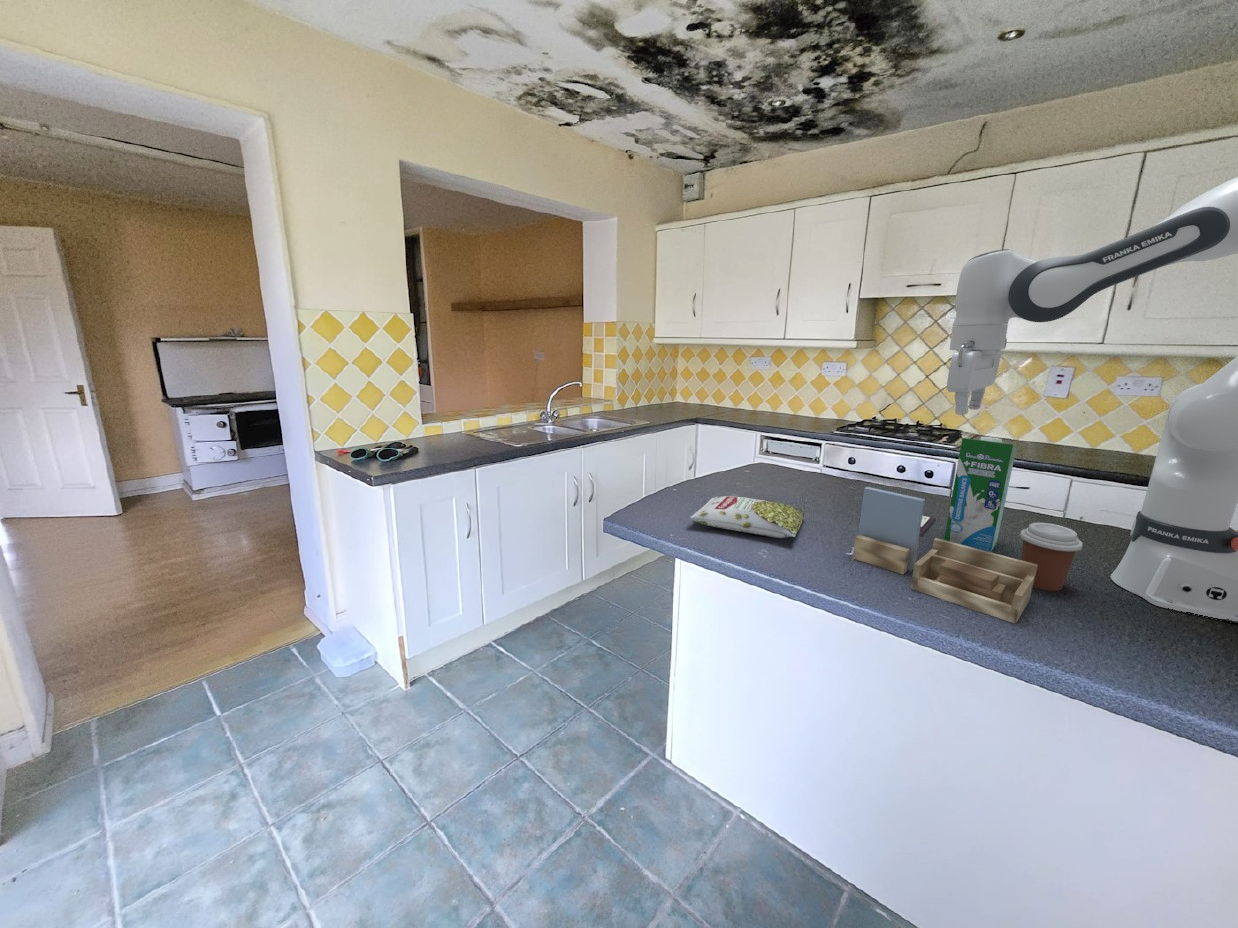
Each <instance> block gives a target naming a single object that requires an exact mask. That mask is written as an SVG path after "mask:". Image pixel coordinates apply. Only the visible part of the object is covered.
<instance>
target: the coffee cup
mask: <svg viewBox="0 0 1238 928" xmlns="http://www.w3.org/2000/svg"><path fill="white" fill-rule="evenodd" d="M1019 537H1020V538H1021V539H1022V548H1021V549H1022V550H1021V559H1020V560H1022V561H1026V562H1029V563H1033V564H1037V565H1038V566H1037V570H1036V575H1035V579H1034V583H1033V587H1032V588H1033V589H1034V588H1035V589H1038V590H1041V591H1042V590H1043V591H1049V592H1060V591H1062V590H1063V587H1064V585H1065V582H1066V580H1067V576H1068V574H1069V572H1070V569H1071V565H1072V563H1073V561H1074V558H1075V555H1076V553H1077V552H1079V551H1082V550H1083V546H1084V543H1083V542H1082V541H1081V540H1080V538H1078V532H1076V531H1074V529H1071V528H1069V527H1066V526H1062V525H1059V524H1055V523H1047V522H1032V523H1029V525H1028V527H1026V528H1024V529H1021V530H1020V533H1019Z"/></svg>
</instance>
